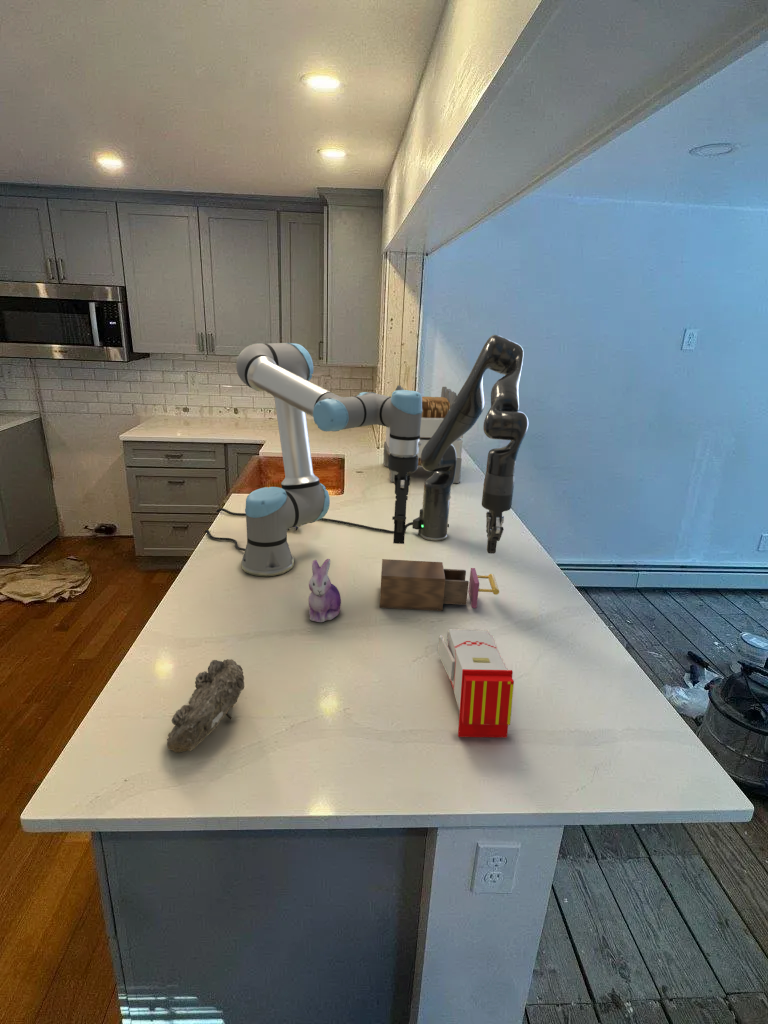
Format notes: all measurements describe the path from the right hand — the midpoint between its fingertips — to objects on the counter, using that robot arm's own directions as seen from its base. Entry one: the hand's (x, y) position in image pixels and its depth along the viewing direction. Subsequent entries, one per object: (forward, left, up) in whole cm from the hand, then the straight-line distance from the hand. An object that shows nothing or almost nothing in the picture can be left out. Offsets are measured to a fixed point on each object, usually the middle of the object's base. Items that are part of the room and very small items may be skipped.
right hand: (490, 552), depth 150 cm
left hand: (-20, -14, +4) cm, 25 cm away
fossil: (-21, -75, -15) cm, 79 cm away
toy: (+14, -37, -15) cm, 42 cm away
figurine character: (-79, +8, -15) cm, 81 cm away
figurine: (-30, -32, -15) cm, 47 cm away
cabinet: (-17, -11, -15) cm, 25 cm away
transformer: (-83, +98, -15) cm, 129 cm away
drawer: (-7, -4, -14) cm, 16 cm away
